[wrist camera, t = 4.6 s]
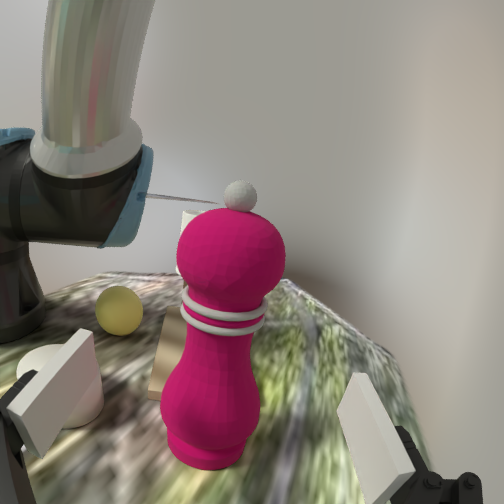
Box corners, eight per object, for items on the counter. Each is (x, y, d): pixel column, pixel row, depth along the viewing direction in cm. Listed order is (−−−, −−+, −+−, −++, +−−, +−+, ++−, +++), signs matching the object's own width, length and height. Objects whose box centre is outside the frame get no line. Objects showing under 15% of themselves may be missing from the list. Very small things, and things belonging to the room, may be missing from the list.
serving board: (167, 313, 41) (167, 305, 41) (235, 320, 43) (237, 313, 43) (148, 399, 24) (148, 390, 24) (254, 407, 26) (256, 398, 25)
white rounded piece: (20, 378, 20) (12, 350, 19) (88, 366, 26) (84, 338, 25) (37, 437, 15) (24, 409, 14) (118, 417, 21) (114, 389, 20)
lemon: (90, 324, 33) (88, 281, 32) (130, 317, 38) (131, 276, 36) (106, 349, 29) (103, 302, 28) (151, 339, 34) (152, 294, 32)
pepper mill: (144, 451, 18) (146, 169, 13) (185, 402, 25) (210, 174, 20) (232, 488, 16) (301, 193, 11) (259, 428, 23) (316, 193, 18)
